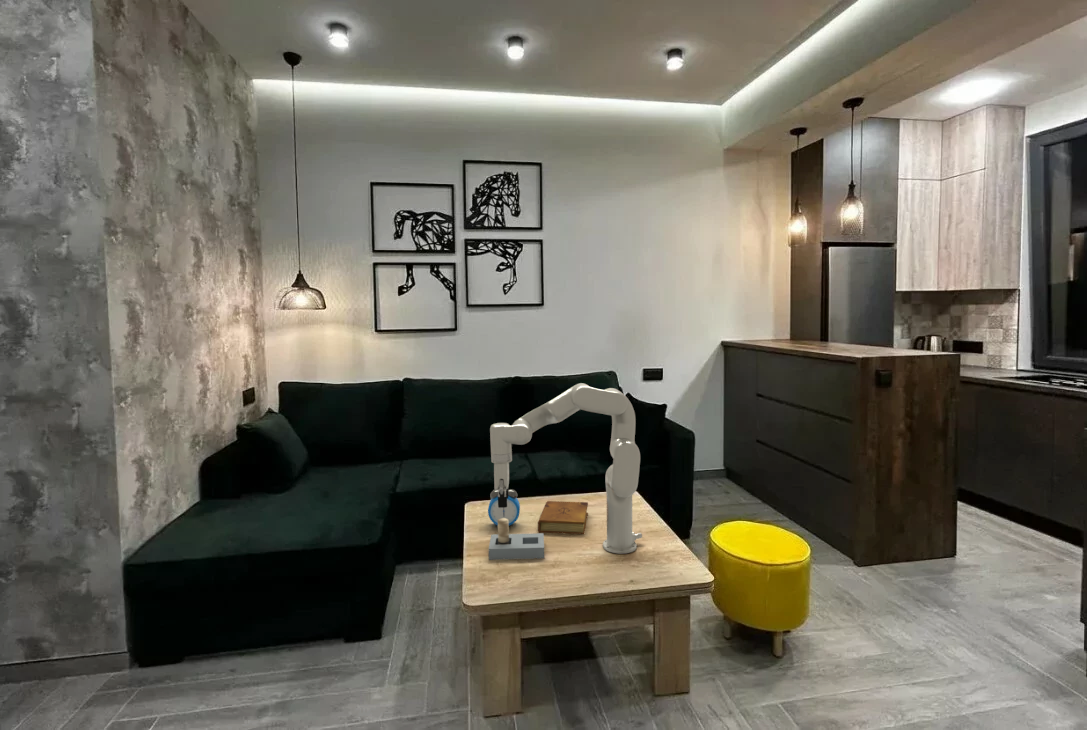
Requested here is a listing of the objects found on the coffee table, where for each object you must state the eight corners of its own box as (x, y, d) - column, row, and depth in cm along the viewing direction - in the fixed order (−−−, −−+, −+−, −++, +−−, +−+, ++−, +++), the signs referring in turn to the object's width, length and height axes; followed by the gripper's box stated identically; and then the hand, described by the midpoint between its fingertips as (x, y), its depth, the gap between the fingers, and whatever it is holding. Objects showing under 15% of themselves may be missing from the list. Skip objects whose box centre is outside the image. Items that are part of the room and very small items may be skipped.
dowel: (506, 548, 205) (505, 517, 204) (511, 552, 202) (510, 520, 200) (496, 550, 203) (495, 519, 202) (501, 555, 199) (500, 523, 198)
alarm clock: (488, 527, 225) (487, 492, 224) (489, 522, 232) (488, 487, 230) (519, 527, 226) (519, 491, 224) (520, 521, 232) (519, 487, 230)
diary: (546, 513, 242) (545, 500, 242) (588, 515, 240) (587, 502, 239) (538, 533, 220) (537, 519, 219) (584, 535, 217) (584, 521, 216)
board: (543, 543, 209) (543, 533, 209) (544, 558, 196) (544, 547, 196) (491, 544, 209) (491, 534, 208) (488, 559, 196) (488, 549, 195)
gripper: (493, 451, 208) (494, 495, 209) (489, 463, 190) (491, 511, 192) (512, 450, 208) (514, 494, 209) (510, 463, 190) (512, 510, 192)
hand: (503, 502), depth 201 cm, fingers open, 9 cm apart
